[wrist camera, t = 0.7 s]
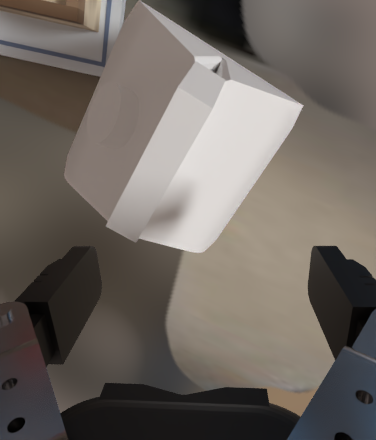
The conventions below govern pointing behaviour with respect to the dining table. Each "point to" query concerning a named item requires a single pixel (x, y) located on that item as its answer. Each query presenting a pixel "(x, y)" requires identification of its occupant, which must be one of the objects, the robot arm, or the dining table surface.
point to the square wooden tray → (58, 11)
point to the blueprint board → (62, 40)
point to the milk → (174, 135)
